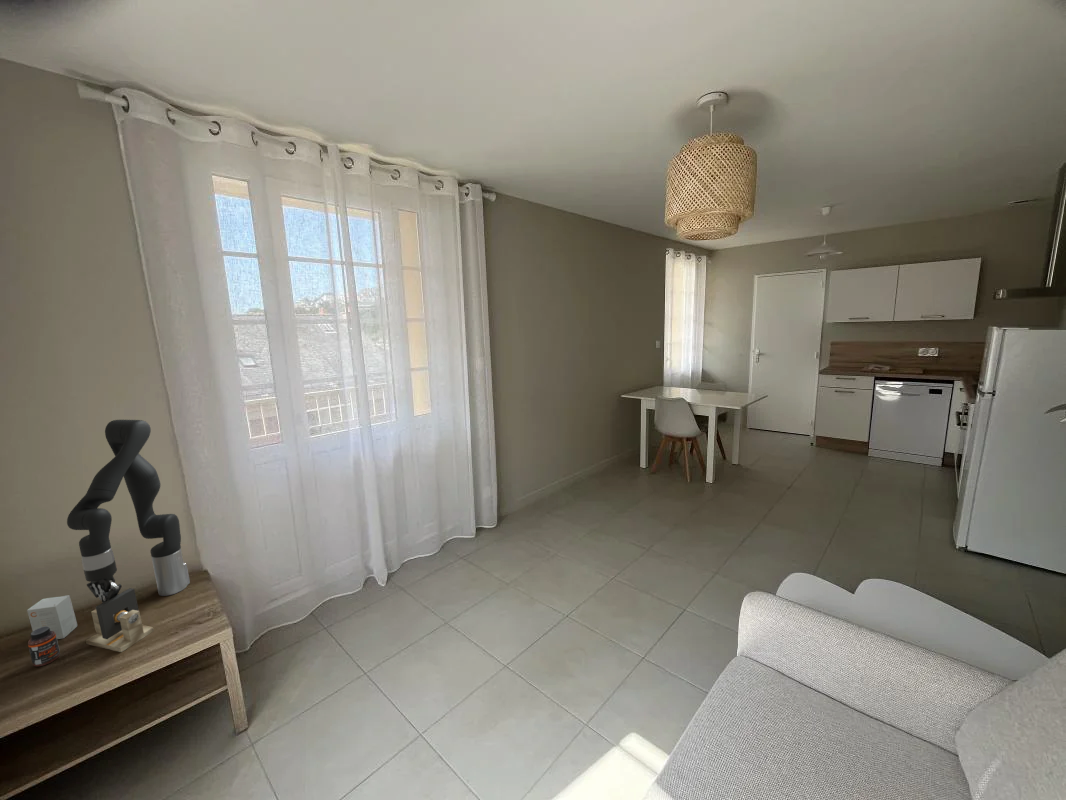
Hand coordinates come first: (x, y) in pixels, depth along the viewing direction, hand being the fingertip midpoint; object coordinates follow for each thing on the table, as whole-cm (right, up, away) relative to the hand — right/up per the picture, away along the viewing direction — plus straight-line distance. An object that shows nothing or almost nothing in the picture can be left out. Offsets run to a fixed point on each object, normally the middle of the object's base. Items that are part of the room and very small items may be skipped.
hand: (109, 607), depth 144 cm
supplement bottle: (-12, -14, -8) cm, 20 cm away
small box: (-22, -11, +3) cm, 25 cm away
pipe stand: (+2, -11, +2) cm, 12 cm away
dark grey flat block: (+4, -8, +1) cm, 9 cm away
